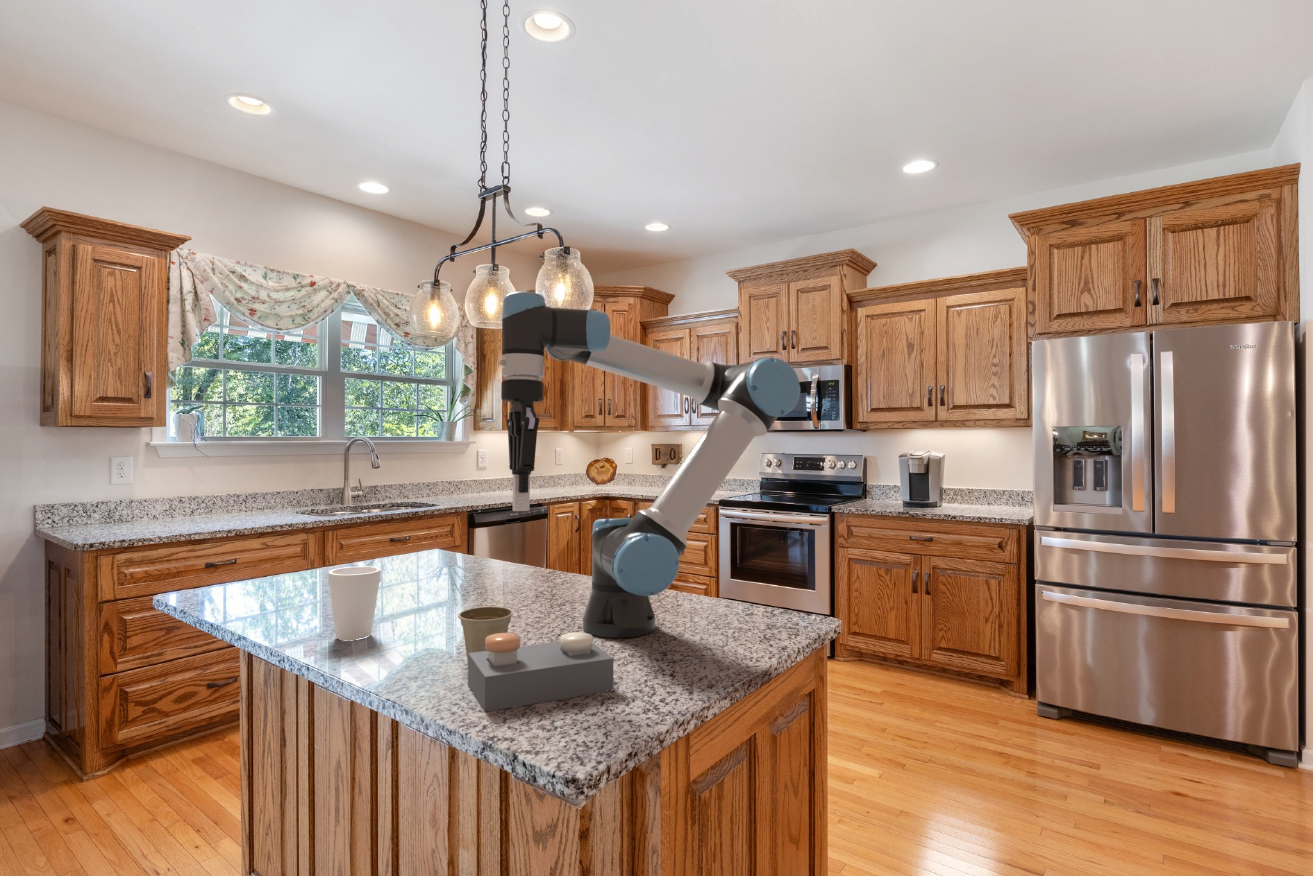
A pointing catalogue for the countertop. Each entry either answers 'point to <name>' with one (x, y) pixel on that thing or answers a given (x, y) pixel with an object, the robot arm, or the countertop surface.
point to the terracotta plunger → (502, 648)
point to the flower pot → (483, 625)
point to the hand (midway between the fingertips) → (521, 510)
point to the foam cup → (354, 600)
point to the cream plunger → (576, 643)
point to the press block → (538, 676)
